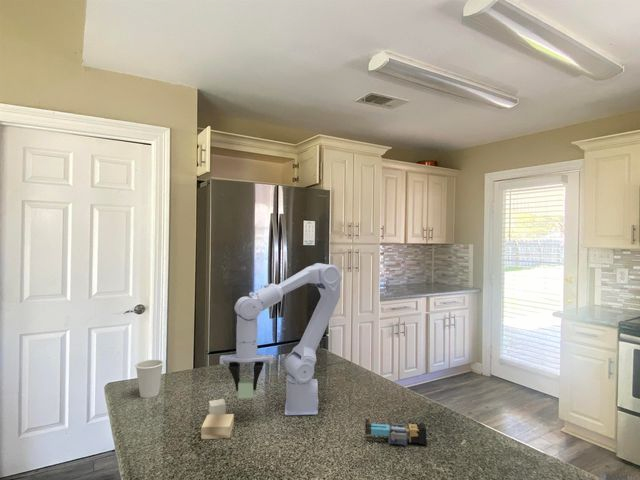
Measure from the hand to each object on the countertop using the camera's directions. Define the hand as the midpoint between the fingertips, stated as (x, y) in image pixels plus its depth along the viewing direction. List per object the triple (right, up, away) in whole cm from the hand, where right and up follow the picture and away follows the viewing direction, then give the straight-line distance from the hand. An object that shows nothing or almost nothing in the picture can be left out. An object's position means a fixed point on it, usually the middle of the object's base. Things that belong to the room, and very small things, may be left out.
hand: (246, 389), depth 107 cm
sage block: (0, -2, 0) cm, 2 cm away
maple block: (-6, -8, -7) cm, 12 cm away
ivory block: (-9, -9, +2) cm, 12 cm away
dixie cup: (-35, -9, +17) cm, 40 cm away
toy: (+39, -9, -11) cm, 42 cm away
